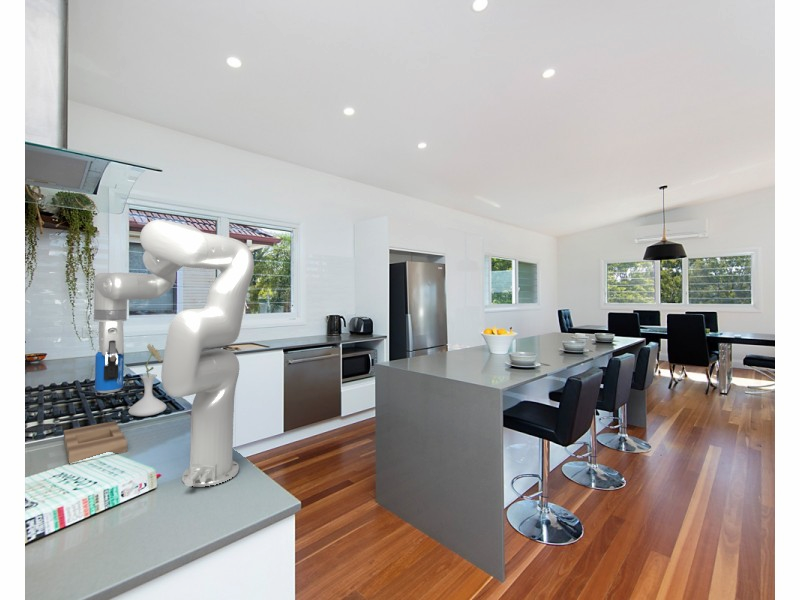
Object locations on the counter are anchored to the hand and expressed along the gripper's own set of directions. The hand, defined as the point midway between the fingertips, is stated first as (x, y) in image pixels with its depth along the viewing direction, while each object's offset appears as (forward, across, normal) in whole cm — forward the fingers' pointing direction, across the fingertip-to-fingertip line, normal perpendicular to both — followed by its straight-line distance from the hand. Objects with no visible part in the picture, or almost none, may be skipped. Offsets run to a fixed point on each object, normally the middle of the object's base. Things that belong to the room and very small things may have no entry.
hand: (109, 376), depth 107 cm
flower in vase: (+20, +23, -14) cm, 33 cm away
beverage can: (+4, 0, 0) cm, 4 cm away
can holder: (+20, 0, +3) cm, 20 cm away
